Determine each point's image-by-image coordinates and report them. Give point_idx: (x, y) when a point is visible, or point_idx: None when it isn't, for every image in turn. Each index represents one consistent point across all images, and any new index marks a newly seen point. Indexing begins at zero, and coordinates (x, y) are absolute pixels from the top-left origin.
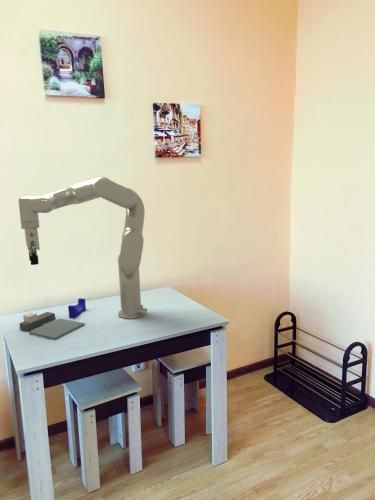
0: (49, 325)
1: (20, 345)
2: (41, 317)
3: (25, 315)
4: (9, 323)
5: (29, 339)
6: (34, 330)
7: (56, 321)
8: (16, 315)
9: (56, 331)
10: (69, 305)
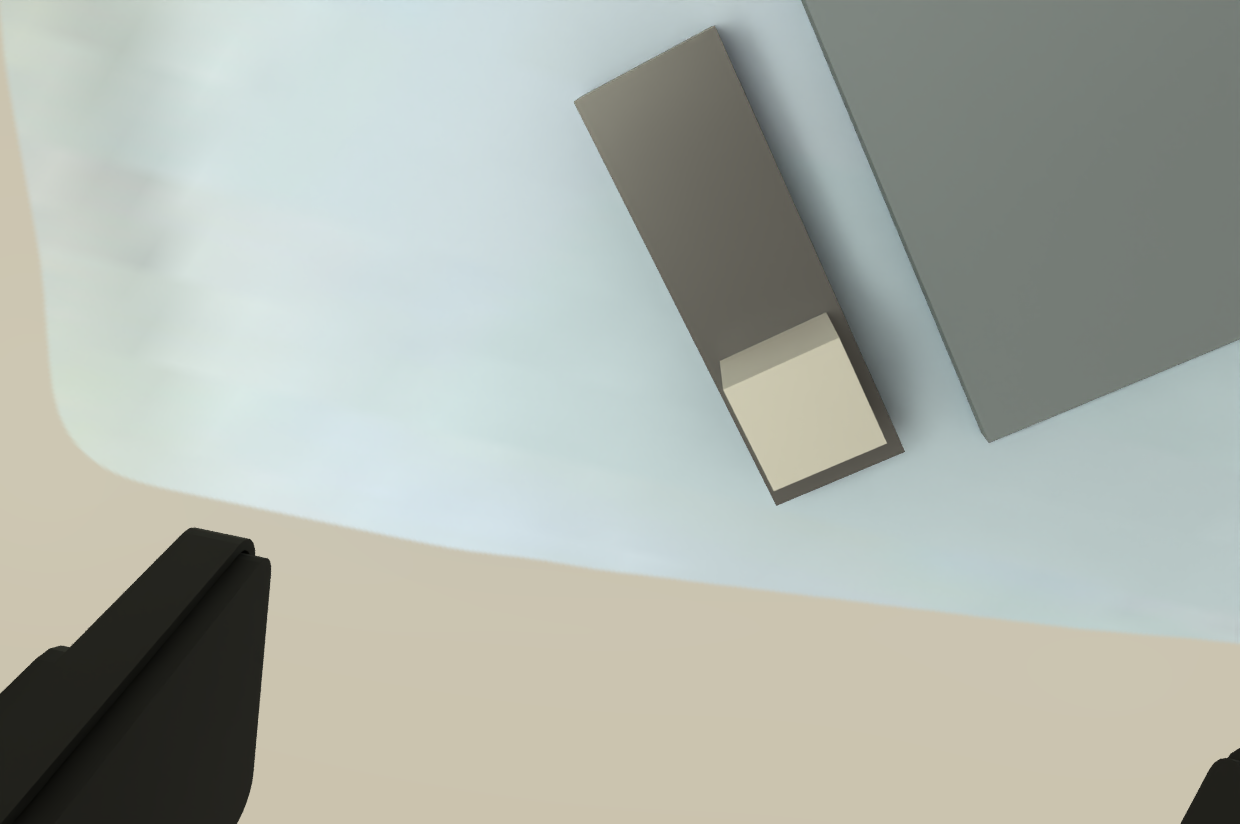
0: (964, 191)
1: (1206, 575)
2: (759, 238)
3: (794, 469)
4: (489, 510)
5: (1127, 470)
6: (988, 384)
7: (890, 66)
8: (251, 386)
9: (1234, 186)
10: None
